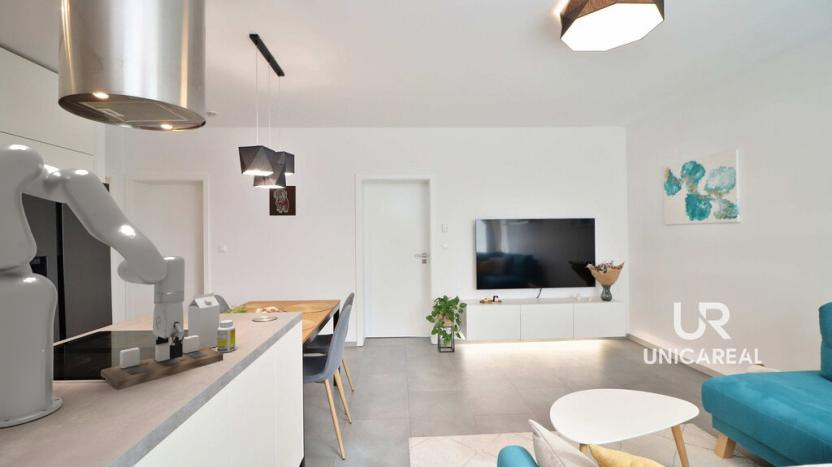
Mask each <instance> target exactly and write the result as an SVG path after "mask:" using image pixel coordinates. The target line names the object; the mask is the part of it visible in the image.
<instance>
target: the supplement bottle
mask: <svg viewBox="0 0 832 467" xmlns="http://www.w3.org/2000/svg"><path fill="white" fill-rule="evenodd" d="M216 348H217V349H216V350H217V352H220V353H229V352H233V351H234V350H236V326H235V325H234V322H233V320H232V319H224V320H221V321H219V328H218V329H217V346H216Z"/></svg>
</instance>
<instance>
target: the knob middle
mask: <svg viewBox="0 0 832 467" xmlns="http://www.w3.org/2000/svg"><path fill="white" fill-rule="evenodd" d="M170 345H171V342H170V341H169V342H168V343H163V344H159V345H156V344H155V345H154V346H155V351H154V352H155V355H154V356H155V360H156V361H158V362H159V361H164V360H168V359H170Z"/></svg>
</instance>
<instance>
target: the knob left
mask: <svg viewBox="0 0 832 467" xmlns="http://www.w3.org/2000/svg"><path fill="white" fill-rule="evenodd" d="M140 361H141V349H140V348H139V347H137V346H136V347H132V348H128V349H122V350H120V351H119V366H120V367H121V368H126V367H130V366H135V365H139V364H140Z"/></svg>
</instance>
